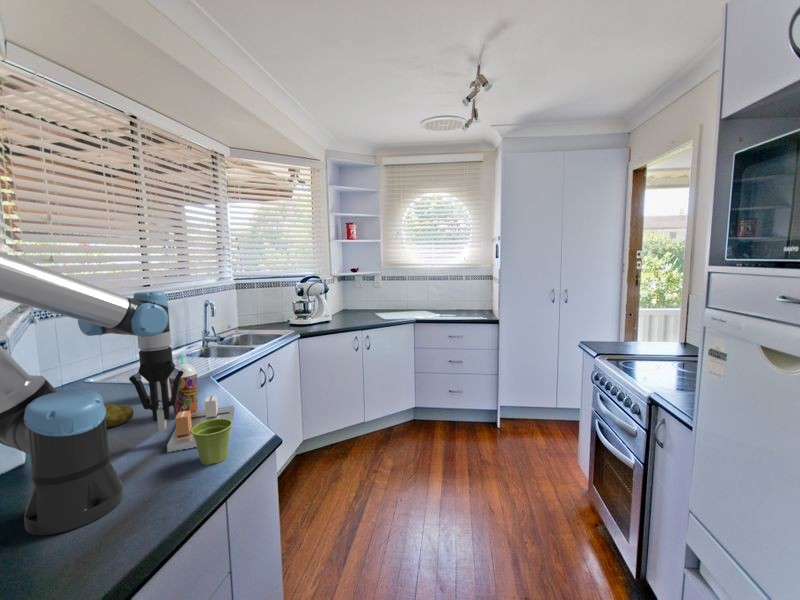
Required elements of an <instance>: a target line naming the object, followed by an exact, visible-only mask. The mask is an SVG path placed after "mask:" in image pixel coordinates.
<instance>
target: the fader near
mask: <svg viewBox="0 0 800 600" xmlns="http://www.w3.org/2000/svg"><path fill="white" fill-rule="evenodd" d="M174 420H175V429H176V434H177V436H179V435H185V434H189V433H190V430H191V428H192V423H191V411H190V410H189V411H182V412H178V414H177V415H176V416H175V418H174Z"/></svg>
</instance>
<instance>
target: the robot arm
mask: <svg viewBox="0 0 800 600" xmlns="http://www.w3.org/2000/svg"><path fill="white" fill-rule="evenodd" d="M0 299H1V300H4V301H5V300H6V301H9V302H13V303H15V304H16V303H17V304H20V305H24V306H28V307H31V308H34V309H39V310H41V311H42V310H43V311H46V312H49V313H53V314H57V315H61V316H64V317H67V318H71V319H75V320H77V324H78V328H79V329H80V332H82V334H83V335H85V336H88V337H91V336H92V337H93V336H102V335H108V334H115V335H124V336H125V335H126V336H128V335H129V336H135V337H137V347H138V349H139V351H138V358H139V368H138V371H137V372H136V373H135V374H132V375H130V377H129V378H128V379H129V381H130V383H132V385H133V386H134V388H135V390H136V392H137V395H138V397H139V400H140V402H141V405H142V408H143V409H144V410H151V412H152V420H153V422H157V430H158V435H159V434H165V433H166V432H167V430H168V425H167V420H169V419H170V417H171V410H170V409H171V408H170V407H172V406H173V405H175V403H176V401H177V396H178V391H179V385H180V380H181V376H182V375H183V373H184V372H185V370H184V369H179V368H176V367H175V366H176V364H175V362H174V363H173V359H172V357H173V350H172V349H173V348H172V347H171V345H172V339H171V330H170V329H171V327H170V317H169V316H170V315H169V303H168V297H167V293H165V292H164V291H161V290H160V291H159V290H158V291H155V290H153V291H141V292H135V293H133V298H131V297H127V296H124V295H122V294H119V293H117V292H113V291H110V290H107V289H106V288H102V287H99V286H97V285H94V284H92V283H91V284H90V283H88V282H85V281H83V280H80V279H77V278H74V277H71V276H68V275H65V274H63V273H60V272H57V271H55V270H52V269H49V268H46V267H43V266H41V265H38V264H35V263H34V262H33V263H32V262H30V261H27V260H24V259H21V258H19V257H16V256H13V255H11V254H7V253H4V252H2V251H0ZM173 371H174V376H175V380H174V385H173V390H172V395H171V398H170V399H169V393H168V378H169V376H170V375H171V373H172V372H173ZM142 378H144V379H145V380H146V381H147V382H148V387H149V395H150V396H149V395H148V393H147V391H146V390H147V389H146V388H145V386H144V383H143V381H142ZM157 381H159V382H160V385H161V395H162V401H161V404H162V406H160V403H159V402H160V401H159V400H158V391H157ZM149 397H150V398H149ZM107 428H108V427H107V425H106V408H105V407H104V398H103V397H102V396H101V395H100V394H99V393H98V392H95V391H93V390H90V389H79V390H77V389H67V390H61V391H58V390H57V389H56V388H55V387H54V386H53V385H52V384H51V383H50V382H49V381H48V380H47V379H46V378H45V376H43V375H31V374H28V372H27V371H26V370H24V368H22V367H21V365H20V364H19V363H18V362H17V361H16V360H15V359H14V358H13V356H11V355H10V354H9V353H8V352H7V351H6V350H5V349H4V348H3V347H2V346H1V345H0V444H1V445H3V446H6V447H9V448H13V449H15V450H18V451H21V452H23V453H25V454H27V455H29V460H30V462H29V463H30V468H31V470H30V471H31V477H32V489H31V492H30V495H29V499H28V501H27V505H26V509H25V512H24V517H23V520H24V530H25V531H26V533H28V534H30V535H33V536H49V535H58V534H62V533H64V532H68V531H72V530H75V529H77V528H81V527H82V526H86V525H88V524H90V523H92V522H94V521H96V520H98V519H100V518H102V517H103V516H106V515H107V514H109V513H110V512H111V511H112V510H114V509H115V508H117V506H118V505H119V504H120V503H121V502H122V500H123V498H124V497H125V496H124V495H125V492H124V484H123V481H122V480H121V478H120V476H119V474H118V473H117V472H116V470H115V468H114V466H113V465H112V463H111V460H110V449H109V437H108V429H107Z"/></svg>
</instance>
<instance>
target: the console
mask: <svg viewBox="0 0 800 600" xmlns="http://www.w3.org/2000/svg"><path fill="white" fill-rule="evenodd" d="M234 415H235V406H234V405H231V406H224V407H218V413H217V416H213V417H207V418H206V413H205V409H204V410H196V411H195V412H191V423H192V428H193V427H194V426H195V425H197V424H199V423H202V422H204V421H208V420H213V419H229V420H231V421H232V423H234ZM192 428H191V429H192ZM232 429H233V425H232V426H231V430H230V432H229V441H231V437H230V436H232ZM193 447H197V444H196V440H195V438H194V436H193V434H192V433H191V430H190V433H189V434H185V435H179V436H177V434H176V428H175V429H174V431H173V432H172V435H171V436H170V439H169V441H168V443H167V444H166V450H167V453H168V452H169V453H173V452H172V451H175V452H177V451H176V450H180V451H183V450H182V449H186V450H189V449H188V448H191V449H194V448H193Z"/></svg>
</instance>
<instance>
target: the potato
mask: <svg viewBox="0 0 800 600" xmlns="http://www.w3.org/2000/svg"><path fill="white" fill-rule="evenodd" d="M103 403H104V402H103ZM104 407H105V408H106V425H107V428H113V427H117V426H120V425H122V424H124V423H127V422H128V421H129V420H131V419H132V418H133V416H134V412H135V411H134V409H133V407H131V406H130V405H129V406H128V405H119V404H118V405H117V404H109V403H107V402H106V403H104Z"/></svg>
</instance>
